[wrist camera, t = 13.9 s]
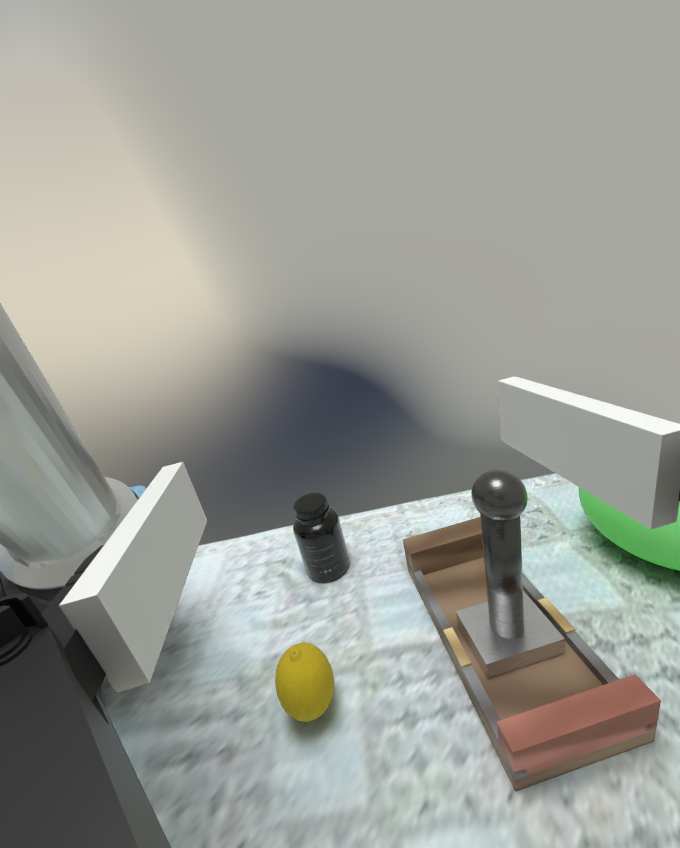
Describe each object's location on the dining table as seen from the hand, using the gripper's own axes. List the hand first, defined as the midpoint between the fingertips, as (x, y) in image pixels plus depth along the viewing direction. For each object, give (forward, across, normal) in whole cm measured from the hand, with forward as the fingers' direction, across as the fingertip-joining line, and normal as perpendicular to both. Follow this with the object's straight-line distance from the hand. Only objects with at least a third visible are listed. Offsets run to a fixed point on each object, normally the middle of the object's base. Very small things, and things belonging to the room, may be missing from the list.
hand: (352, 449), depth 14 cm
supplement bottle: (+30, -4, -32) cm, 45 cm away
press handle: (+11, +13, -30) cm, 35 cm away
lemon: (+12, -8, -32) cm, 35 cm away
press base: (+13, +13, -32) cm, 37 cm away
